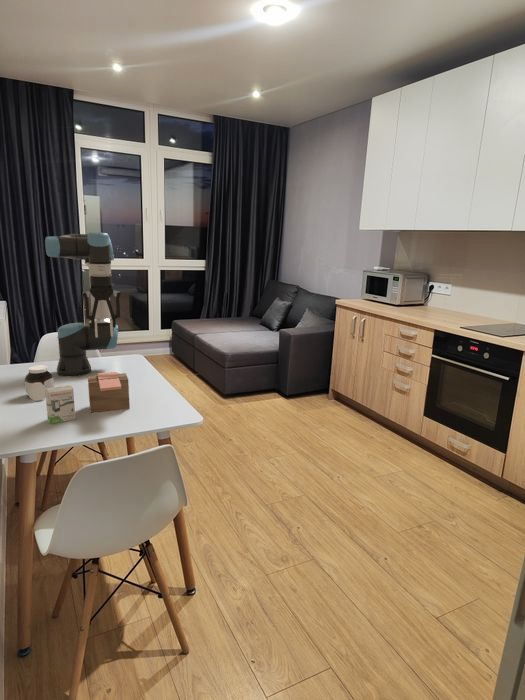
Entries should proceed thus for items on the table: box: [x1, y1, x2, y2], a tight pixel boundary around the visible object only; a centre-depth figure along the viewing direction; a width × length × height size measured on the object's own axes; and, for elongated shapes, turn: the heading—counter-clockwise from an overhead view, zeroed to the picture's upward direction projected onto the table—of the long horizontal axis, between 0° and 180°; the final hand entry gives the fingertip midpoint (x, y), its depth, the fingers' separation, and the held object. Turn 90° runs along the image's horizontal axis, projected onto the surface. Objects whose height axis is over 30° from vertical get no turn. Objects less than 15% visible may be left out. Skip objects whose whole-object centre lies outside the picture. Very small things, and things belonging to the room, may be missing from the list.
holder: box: [87, 371, 131, 414], centre depth 167 cm, size 8×14×13 cm, turn 113°
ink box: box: [45, 384, 77, 425], centre depth 155 cm, size 9×5×12 cm, turn 125°
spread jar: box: [24, 364, 55, 402], centre depth 176 cm, size 12×11×12 cm
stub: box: [99, 378, 122, 391], centre depth 158 cm, size 10×7×1 cm
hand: (104, 336), depth 168 cm, fingers open, 5 cm apart
